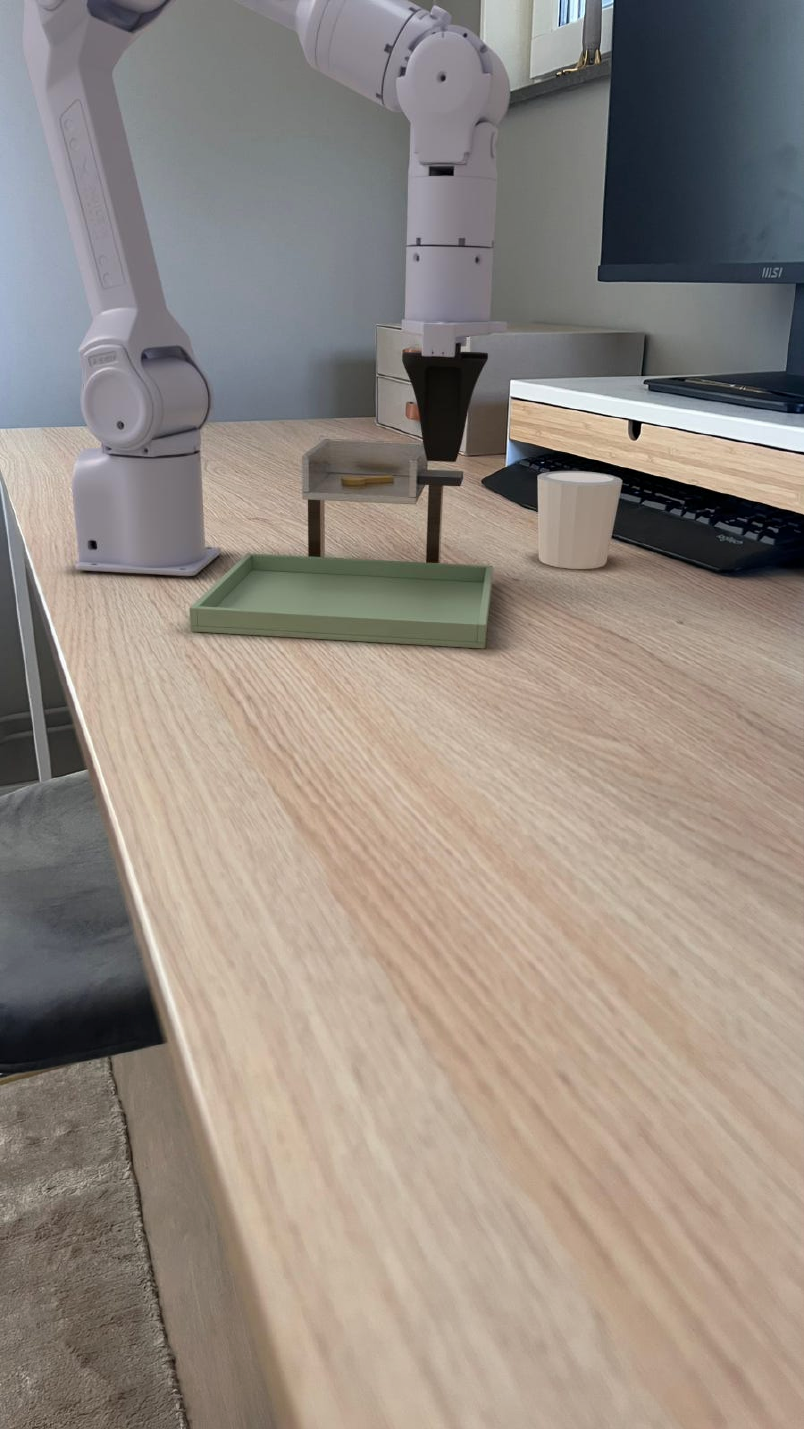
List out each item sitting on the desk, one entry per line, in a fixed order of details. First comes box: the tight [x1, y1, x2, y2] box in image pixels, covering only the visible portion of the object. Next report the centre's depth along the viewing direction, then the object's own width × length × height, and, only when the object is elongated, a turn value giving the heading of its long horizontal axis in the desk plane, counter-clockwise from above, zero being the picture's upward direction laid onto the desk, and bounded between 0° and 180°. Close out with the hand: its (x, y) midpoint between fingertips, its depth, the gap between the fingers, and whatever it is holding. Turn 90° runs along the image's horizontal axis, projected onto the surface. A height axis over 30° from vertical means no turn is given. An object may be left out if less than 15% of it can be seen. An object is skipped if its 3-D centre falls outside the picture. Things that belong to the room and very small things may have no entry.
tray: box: [188, 552, 494, 650], centre depth 72 cm, size 19×15×2 cm
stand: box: [307, 485, 444, 563], centre depth 81 cm, size 10×2×8 cm, turn 84°
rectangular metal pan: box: [301, 438, 464, 506], centre depth 75 cm, size 11×9×3 cm
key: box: [341, 475, 394, 485], centre depth 76 cm, size 4×2×1 cm, turn 114°
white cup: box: [537, 470, 623, 570], centre depth 86 cm, size 7×7×7 cm
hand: (441, 460), depth 73 cm, fingers closed
